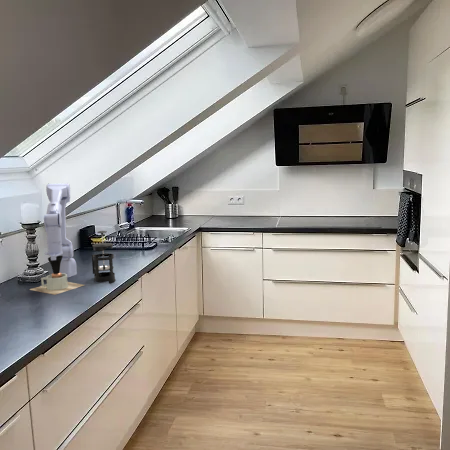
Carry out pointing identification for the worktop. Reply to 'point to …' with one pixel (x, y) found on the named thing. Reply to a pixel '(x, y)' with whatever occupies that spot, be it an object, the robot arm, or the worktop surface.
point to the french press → (96, 268)
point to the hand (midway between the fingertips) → (56, 273)
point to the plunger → (57, 275)
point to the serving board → (54, 292)
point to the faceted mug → (55, 282)
